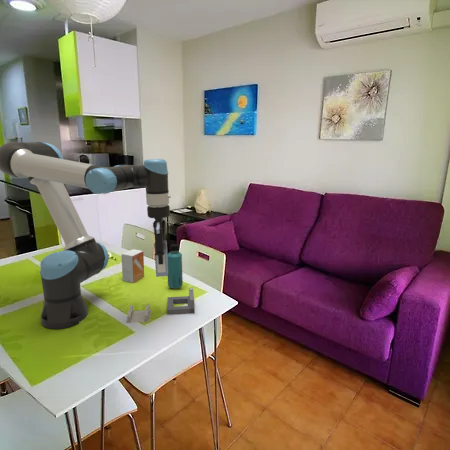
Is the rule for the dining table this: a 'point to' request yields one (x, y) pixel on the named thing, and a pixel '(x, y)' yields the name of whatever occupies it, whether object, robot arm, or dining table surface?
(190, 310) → the port
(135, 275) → the small box
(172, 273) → the beverage bottle
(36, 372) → the dining table surface
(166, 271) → the plug
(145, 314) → the grey u-shaped block
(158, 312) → the dining table surface
